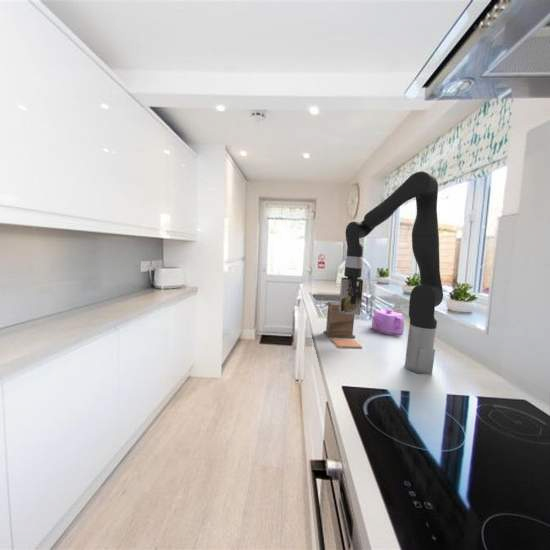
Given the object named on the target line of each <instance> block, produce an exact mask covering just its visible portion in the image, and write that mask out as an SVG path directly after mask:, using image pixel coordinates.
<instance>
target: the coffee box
mask: <svg viewBox="0 0 550 550" xmlns="http://www.w3.org/2000/svg"><path fill="white" fill-rule="evenodd" d="M357 280H358V282H361V284H360V293H359V295H357V297H356V304H351V296H352V295H351V291H350V286H351V287H352V288H353V289H354V286H352V279H350V278H347V277H341V282H340V293H339V302H340V304H339V312H340V314H354V316H355V315H357V316H360V315H361V311H362V309H361V308H362V299H363V297H362V296H363V286H364V285H363V284H364V280H363V279H362V278H357ZM355 292H356V291H355ZM357 292H358V290H357Z"/></svg>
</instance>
